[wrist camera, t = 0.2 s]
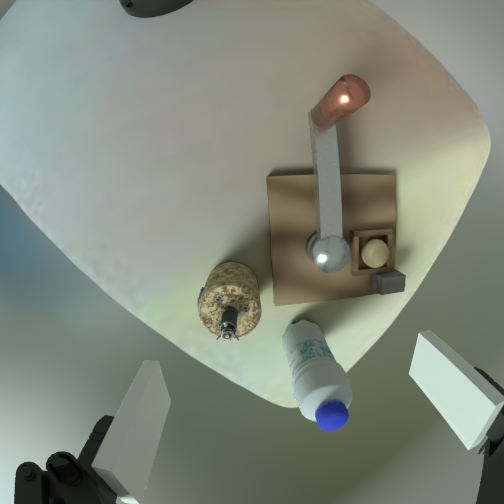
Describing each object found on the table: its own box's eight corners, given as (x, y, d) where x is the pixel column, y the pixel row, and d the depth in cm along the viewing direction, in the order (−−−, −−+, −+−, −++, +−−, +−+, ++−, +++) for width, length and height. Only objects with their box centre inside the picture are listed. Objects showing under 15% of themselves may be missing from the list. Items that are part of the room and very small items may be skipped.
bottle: (280, 315, 41) (306, 406, 22) (322, 313, 41) (373, 396, 22) (278, 352, 42) (298, 447, 23) (318, 350, 43) (357, 438, 23)
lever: (343, 267, 36) (385, 300, 24) (309, 270, 36) (339, 306, 24) (335, 110, 31) (374, 77, 19) (299, 108, 31) (326, 71, 19)
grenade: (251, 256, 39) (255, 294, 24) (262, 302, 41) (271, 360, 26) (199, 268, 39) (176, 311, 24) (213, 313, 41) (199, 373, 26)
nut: (357, 237, 37) (369, 242, 33) (381, 236, 37) (394, 241, 33) (357, 264, 38) (368, 272, 34) (380, 262, 38) (393, 269, 34)
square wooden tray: (266, 177, 37) (270, 174, 31) (389, 175, 37) (408, 174, 32) (273, 301, 41) (278, 317, 35) (388, 288, 41) (404, 300, 35)
